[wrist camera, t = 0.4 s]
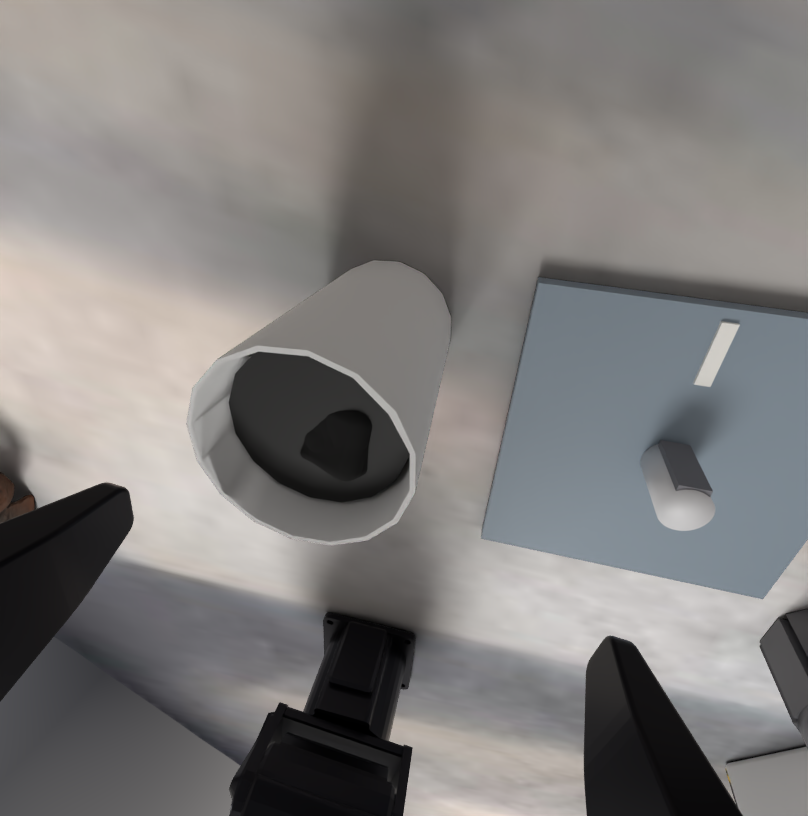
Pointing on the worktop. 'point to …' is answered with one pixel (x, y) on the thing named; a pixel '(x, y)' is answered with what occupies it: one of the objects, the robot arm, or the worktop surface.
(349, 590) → the worktop surface
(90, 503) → the robot arm
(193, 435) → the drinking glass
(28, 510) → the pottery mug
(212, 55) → the worktop surface
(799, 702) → the knob
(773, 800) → the medicine bottle
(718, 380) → the base plate
